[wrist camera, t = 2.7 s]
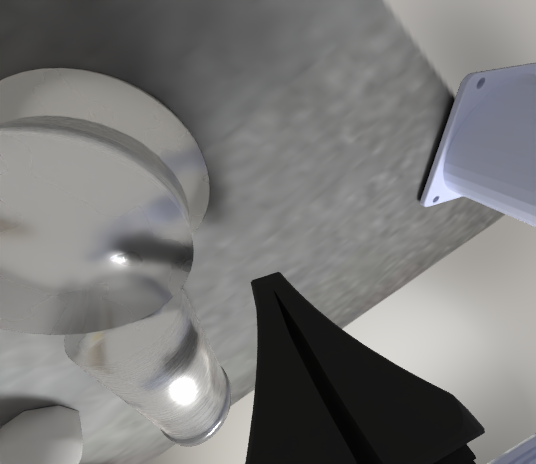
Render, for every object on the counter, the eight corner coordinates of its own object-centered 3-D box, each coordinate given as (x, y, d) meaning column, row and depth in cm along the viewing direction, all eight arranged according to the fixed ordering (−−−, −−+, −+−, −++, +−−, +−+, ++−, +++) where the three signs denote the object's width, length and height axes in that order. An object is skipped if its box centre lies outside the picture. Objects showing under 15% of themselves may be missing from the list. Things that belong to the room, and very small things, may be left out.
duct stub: (176, 55, 8) (178, 47, 5) (223, 233, 13) (236, 276, 10) (-145, 89, 6) (-378, 102, 4) (46, 281, 11) (6, 348, 8)
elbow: (-109, 133, 6) (-470, 215, 2) (154, 97, 7) (136, 121, 4) (147, 385, 14) (140, 471, 11) (239, 350, 16) (256, 419, 13)
